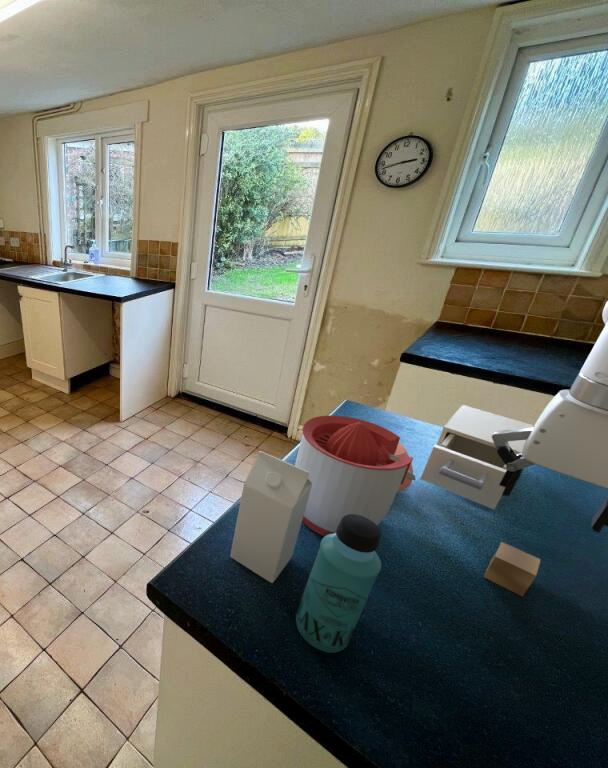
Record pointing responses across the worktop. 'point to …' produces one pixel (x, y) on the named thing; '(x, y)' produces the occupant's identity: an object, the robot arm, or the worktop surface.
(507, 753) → the worktop surface
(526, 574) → the block
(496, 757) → the worktop surface
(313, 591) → the beverage bottle
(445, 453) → the drawer
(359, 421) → the citrus juicer
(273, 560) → the milk carton
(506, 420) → the cabinet
